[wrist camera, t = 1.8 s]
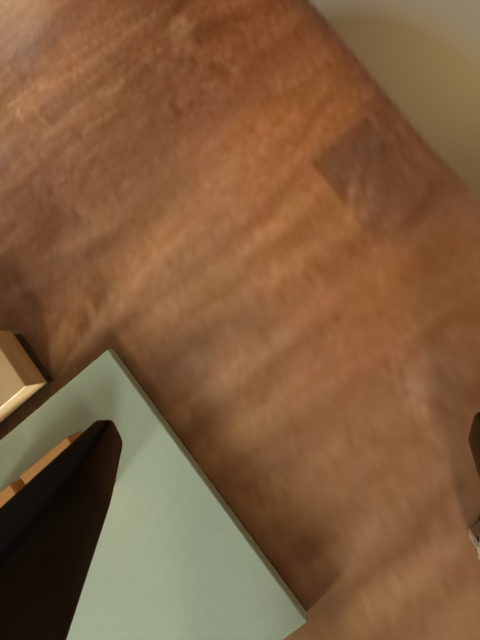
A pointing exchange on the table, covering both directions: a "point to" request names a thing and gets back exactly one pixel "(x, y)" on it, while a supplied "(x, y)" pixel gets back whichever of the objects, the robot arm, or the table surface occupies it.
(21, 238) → the table surface
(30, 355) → the rubber stamp
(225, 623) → the mat
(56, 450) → the block
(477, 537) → the handle
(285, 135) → the table surface
